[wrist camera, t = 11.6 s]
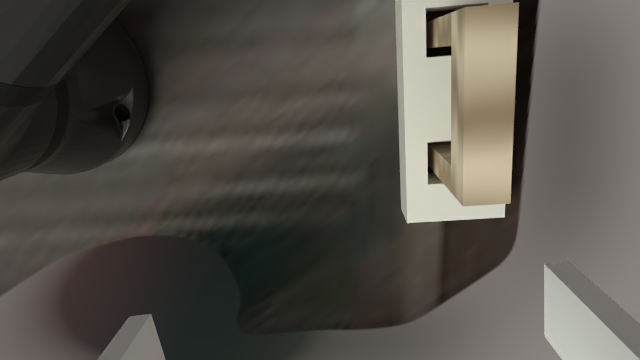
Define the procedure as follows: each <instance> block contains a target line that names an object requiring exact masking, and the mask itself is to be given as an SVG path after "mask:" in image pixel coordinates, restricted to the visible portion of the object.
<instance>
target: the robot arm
mask: <svg viewBox="0 0 640 360" xmlns="http://www.w3.org/2000/svg"><path fill="white" fill-rule="evenodd" d="M130 1H131V0H0V181H1V180H3V179H6V178H9V177H11V176H14V175H17V174H19V173H22V172H31V173H45V174H74V173H80V172H85V171H88V170H91V169H94V168H96V167H98V166H101V165H103V164H105V163H107V162H109V161H111V160H113V159H115V158H116V157H118V156H119V155H121V154H122V153H123V152H124V151H125V150H126V149H127V148H128V147H129V146H130V145H131V144H132V143H133V142H134V140H135V139H136V137H137V136H138V134H139V132H140V130H141V128H142V126H143V123H144V120H145V117H146V113H147V107H148V82H147V76H146V71H145V68H144V65H143V62H142V59H141V56H140V54H139V52H138V50H137V48H136V46H135V44H134V43H133V41H132V40H131V38H130V37H129V35H128V34H127V32H126V31H125V30H124V29H123V27H122V26H121V25H120V24H119V23H118V22H117V21H116V20H115V18H116V17H117V16H118V15H119V13H120V12H121V11H122V10H123V9H124V8H125V6H126V5H127V4H128V3H129V2H130ZM544 299H545V300H544V313H545V314H544V316H545V319H544V320H545V322H544V323H545V337H546V339H547V340H548V341H549V343H550V344H551V345H552V347H553V348H554V349H555V351H556V352H557V353H558V354H559V356H560V357H561V359H562V360H640V324H639V323H638V322H637V321H636V320H635V319H634V318H633V317H632V316H630V315H629V314H628V313H627V312H626V311H625V310H624V309H622V308H621V307H620V306H619V305H618V304H617V303H616V302H615V301H613V300H612V299H611V298H610V297H609V296H608V295H607V294H605V293H604V292H603V291H602V290H601V289H600V288H599V287H598V286H597V285H595V284H594V283H593V282H592V281H591V280H590V279H589V278H587V277H586V276H585V275H584V274H583V273H582V272H581V271H580V270H578V269H577V268H576V267H575V266H574V265H573V264H572V263H571V262H569V261H563V262H556V263H548V264H544ZM98 360H165V357H164V354H163V351H162V348H161V345H160V341H159V338H158V335H157V332H156V328H155V325H154V322H153V319H152V316H151V314H147V315H139V316H131V317H129V318H128V319H127V321H126V322H125V323H124V325H123V326H122V327H121V329H120V330H119V332H118V333H117V334H116V335H115V337H114V338H113V340H112V341H111V342H110V344H109V345H108V346H107V348H106V349H105V350H104V352H103V353H102V355H101V356H100V357H99V358H98Z"/></svg>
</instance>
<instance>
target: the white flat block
mask: <svg viewBox="0 0 640 360" xmlns="http://www.w3.org/2000/svg"><path fill="white" fill-rule="evenodd" d="M505 3H513V0H395V15H396V49H397V82H398V115H399V149H400V182H401V209H402V212H403V214H404V216H405V219H406V221H407V223H416V222H432V221H449V220H466V219H483V218H500V217H505V204H494V205H478V206H462V205H461V204H460V203H459V201H458V200H457V199H456V198H455V197H454V195H453V194H452V193H451V192H450V191H449V190H448V188H447V187H446V186H445V185H444V184H443V182H442V181H441V180H440V179H439V178H438V177H437V175H436V174H435V173H428V150H427V142H441V141H451V55H445V56H433V57H426V12H433V11H445V10H456V9H461V8H464V7H471V6H483V5H494V4H505Z"/></svg>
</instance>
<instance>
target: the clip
mask: <svg viewBox="0 0 640 360" xmlns="http://www.w3.org/2000/svg"><path fill="white" fill-rule="evenodd" d="M518 16H519V2H517V3H505V4H494V5H483V6H471V7H464V8H461V9H459V10H456V11H454V12H451V13H449V14H446V15H444V16H441V17H439V18H436V19H434V20H431V21H429V22H426V40H427V48H434V47H446V46H451V142H437V143H428V166H429V167H430V168H431V169H432V171H433V172H434V173H435V174H436V175H437V177H438V178H439V179H440V180H441V181H442V182H443V184H444V185H445V186H446V187H447V188H448V190H449V191H450V192H451V193H452V194H453V195H454V197H455V198H456V199H457V200H458V201H459V203H460V204H461V205H462V206H478V205H494V204H510V202H511V179H512V156H513V133H514V109H515V86H516V63H517V39H518Z"/></svg>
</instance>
